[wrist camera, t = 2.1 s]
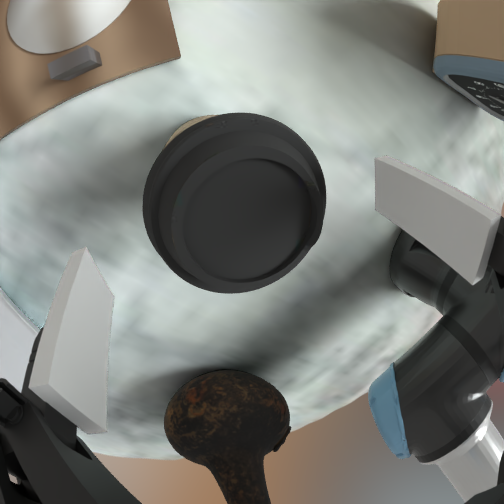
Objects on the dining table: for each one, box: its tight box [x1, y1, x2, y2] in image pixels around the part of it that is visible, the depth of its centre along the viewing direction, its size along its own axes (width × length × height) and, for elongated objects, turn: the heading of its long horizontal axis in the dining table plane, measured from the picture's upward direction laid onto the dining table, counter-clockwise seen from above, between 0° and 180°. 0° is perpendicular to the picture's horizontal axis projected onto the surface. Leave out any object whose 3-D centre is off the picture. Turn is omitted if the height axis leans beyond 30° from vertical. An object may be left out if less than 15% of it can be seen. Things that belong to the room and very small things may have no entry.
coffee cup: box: [143, 113, 326, 293], centre depth 18 cm, size 9×9×15 cm
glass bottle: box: [164, 370, 291, 504], centre depth 30 cm, size 18×18×28 cm
